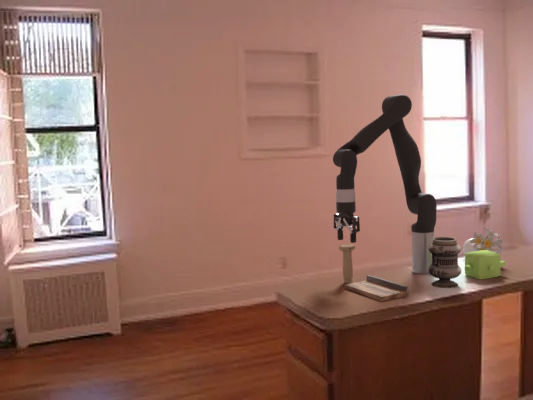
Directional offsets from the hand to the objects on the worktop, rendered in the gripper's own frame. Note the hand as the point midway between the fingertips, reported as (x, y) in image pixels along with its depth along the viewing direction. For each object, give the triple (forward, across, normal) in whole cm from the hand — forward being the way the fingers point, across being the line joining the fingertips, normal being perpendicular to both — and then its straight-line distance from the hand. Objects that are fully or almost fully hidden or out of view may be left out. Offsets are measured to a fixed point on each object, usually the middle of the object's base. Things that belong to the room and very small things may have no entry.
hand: (346, 241), depth 222 cm
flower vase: (+16, -6, -68) cm, 70 cm away
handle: (+17, 0, 0) cm, 17 cm away
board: (+17, -17, 0) cm, 24 cm away
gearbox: (+17, -24, -48) cm, 57 cm away
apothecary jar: (+17, -25, -27) cm, 41 cm away
